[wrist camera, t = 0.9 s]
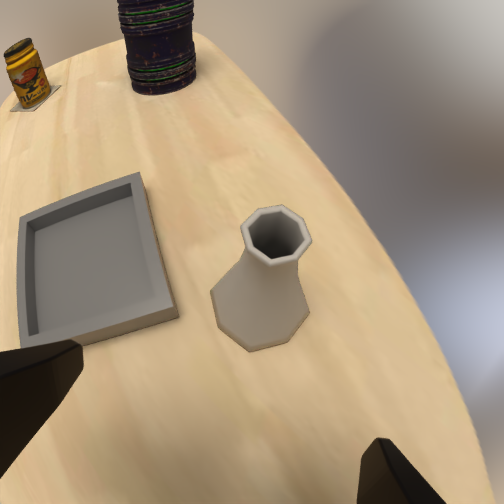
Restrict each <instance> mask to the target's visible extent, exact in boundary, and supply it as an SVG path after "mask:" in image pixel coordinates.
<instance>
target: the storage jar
mask: <svg viewBox="0 0 504 504" xmlns="http://www.w3.org/2000/svg"><path fill="white" fill-rule="evenodd" d="M117 2H118V3H119V6H118V11H119V14H118V16H119V21H120V22H121V23H120V24H121V27H120V28H121V30H122V33H123V34H124V37H125V44H126V49H127V55H126V59H127V64H128V65H127V68H128V73H129V75H130V78H131V80H132V88H133V90H134V91H135V92H137V93H139V94H143V95H161V94H167V93H171V92H175V91H178V90H180V89H182V88H185V87H186V86H188V85H189V84H191V83H192V82H193V81H194V80H195V78H196V70H195V67H196V66H195V62H196V53H195V46H194V42H193V39H192V20H193V16H194V13H193V7H194V0H117Z"/></svg>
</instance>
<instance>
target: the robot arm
mask: <svg viewBox="0 0 504 504" xmlns="http://www.w3.org/2000/svg"><path fill="white" fill-rule="evenodd" d="M83 367H84V361H83V347H82V345H81V344H80V343H78V342H76V341H74V340H72V339H68V340H63V341H58V342H53V343H47V344H42V345H37V346H31V347H26V348H20V349H15V350H9V351H3V352H0V479H1V477H2V476H3V475H4V473H5V472H6V471H7V470H8V468H9V467H10V466H11V464H12V463H13V462H14V460H15V459H16V458H17V457H18V455H19V454H20V453H21V452H22V450H23V449H24V448H25V447H26V445H27V444H28V443H29V442H30V440H31V439H32V438H33V437H34V435H35V434H36V433H37V432H38V430H39V429H40V428H41V427H42V426H43V424H44V423H45V422H46V421H47V419H48V418H49V417H50V416H51V415H52V413H53V412H54V411H55V410H56V409H57V407H58V406H59V405H60V403H61V402H62V401H63V399H64V398H65V396H66V395H67V393H68V392H69V390H70V388H71V387H72V385H73V384H74V382H75V381H76V379H77V378H78V377H79V375H80V374H81V372H82V370H83ZM357 504H446V502H445V501H444V500H443V499H442V498H441V497H440V496H439V495H438V494H437V492H436V491H435V490H434V489H433V488H432V487H431V486H430V485H429V483H428V482H427V481H426V480H425V479H424V478H423V477H422V475H421V474H420V473H419V472H418V471H417V470H416V469H415V468H414V466H413V465H412V464H411V463H410V462H409V461H408V460H407V458H406V457H405V456H404V455H403V454H402V453H401V451H400V450H399V449H398V448H397V447H396V446H395V445H394V443H393V442H392V441H391V440H390V439H388V438H376V439H375V440H374V441H373V442H372V443H371V445H370V446H369V447H368V448H367V450H366V451H365V452H364V454H363V455H362V458H361V465H360V476H359V485H358V494H357Z"/></svg>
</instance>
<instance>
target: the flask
mask: <svg viewBox="0 0 504 504" xmlns="http://www.w3.org/2000/svg"><path fill="white" fill-rule="evenodd" d="M240 229H241V233H242V236H243V240H244V243H245V249H244V252H243V254H242V256H241V258H240V260H239V261H238V262H237V263H236V264H235V265H234V266H233V267H232V268H231V269H230V270H229V271H228V272H227V273H226V274H225V275H224V277H223V278H222V279H221V280H220V281H219V282H218V283H217V284H216V285H215V286H214V287H213V288H212V289H211V290H210V294H211V299H212V303H213V308H214V312H215V317H216V321H217V325H218V328H220V329H221V330H222V331H223V332H225V333H226V334H227V335H228V336H230V337H231V338H232V339H233V340H235V341H236V342H237V343H238V344H240V345H241V346H242V347H243V348H245V349H246V350H247V351H249V352H251V351H255V350H259V349H263V348H267V347H271V346H275V345H278V344H282V343H286V342H288V341H289V340H290V338H291V337H292V336H293V334H294V333H295V332H296V330H297V329H298V328H299V326H300V325H301V324H302V322H303V321H304V320H305V318H306V317H307V316H308V314H309V313H310V311H309V308H308V305H307V302H306V299H305V296H304V293H303V290H302V287H301V284H300V281H299V278H298V260H299V258H300V257H301V256H302V255H303V253H304V252H305V251H306V250H307V248H308V247H309V246H310V245H311V243H312V238H311V236H310V234H309V231H308V229H307V226H306V224H305V221H304V219H303V218H302V217H300V216H299V215H297V214H296V213H294V212H293V211H291V210H290V209H288V208H287V207H285V206H284V205H277V206H271V207H265V208H259V209H257V210H256V211H255V212H254V213H253V214H252V215H251V216H250V217H249V218H248V219H247V220H246V221H245V222H244V223H243V224H242V225H241V226H240Z"/></svg>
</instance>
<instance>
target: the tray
mask: <svg viewBox="0 0 504 504" xmlns="http://www.w3.org/2000/svg"><path fill="white" fill-rule="evenodd" d="M17 311H18V326H19V337H20V346H21V348H26V347H31V346H37V345H42V344H47V343H53V342H58V341H63V340H68V339H72V340H74V341H76V342H78V343H80V344H81V345H82V346H85V345H88V344H92V343H95V342H99V341H102V340H106V339H109V338H112V337H116V336H119V335H123V334H126V333H129V332H133V331H136V330H139V329H142V328H146V327H149V326H152V325H155V324H159V323H162V322H165V321H168V320H171V319H174V318H177V317H179V314H178V311H177V308H176V305H175V301H174V298H173V295H172V291H171V288H170V284H169V281H168V277H167V274H166V270H165V267H164V263H163V259H162V256H161V252H160V248H159V244H158V240H157V237H156V233H155V229H154V224H153V220H152V216H151V212H150V208H149V203H148V199H147V194H146V190H145V187H144V183H143V180H142V177H141V174H140V172H137V173H134V174H131V175H128V176H125V177H121V178H119V179H116V180H113V181H110V182H107V183H104V184H101V185H98V186H96V187H93V188H90V189H87V190H85V191H82V192H79V193H77V194H74V195H72V196H69V197H66V198H64V199H61V200H59V201H57V202H54V203H52V204H49V205H47V206H45V207H42V208H40V209H38V210H35V211H33V212H31V213H28V214H26V215H24V216H22V217H20V220H19V231H18V246H17Z"/></svg>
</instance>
